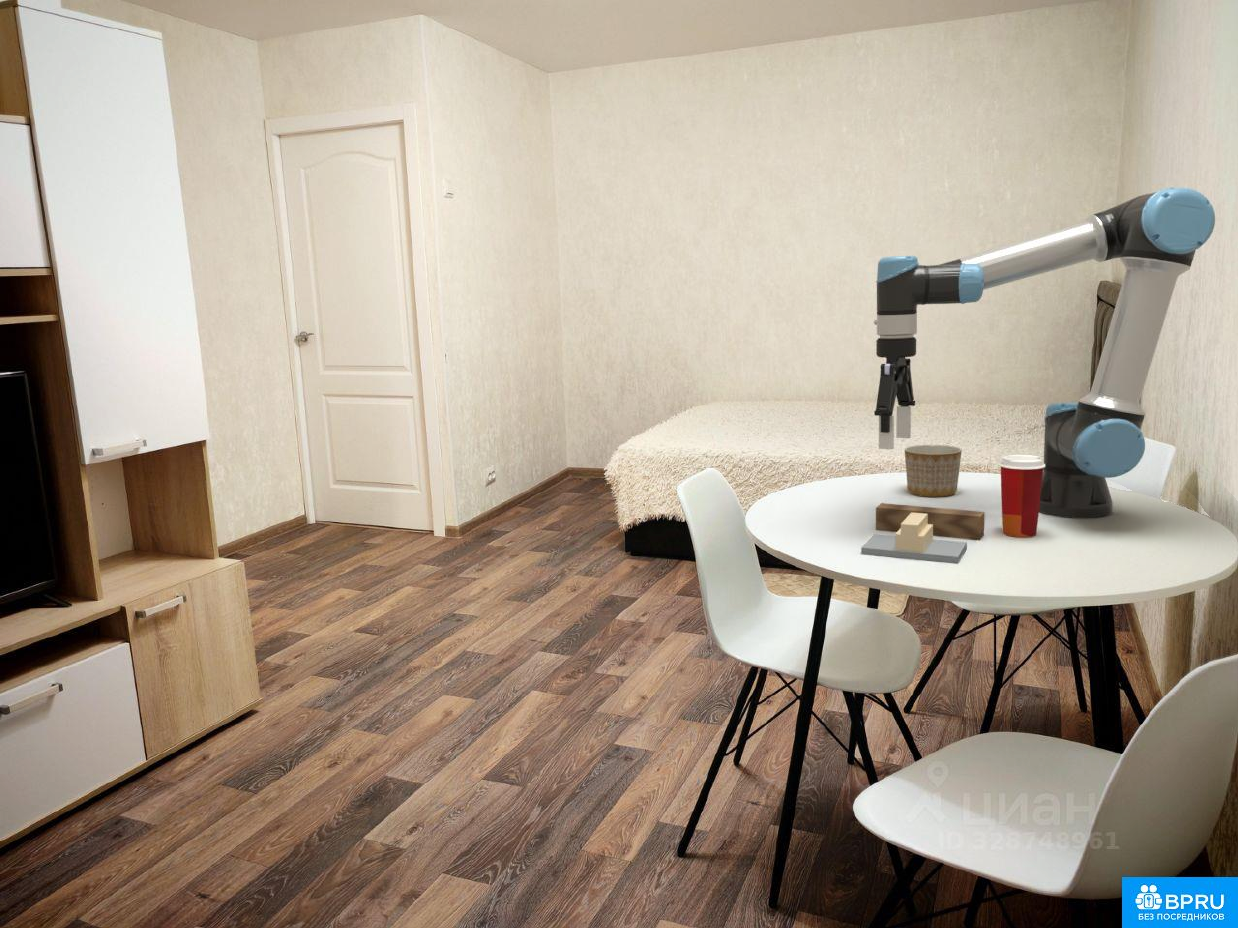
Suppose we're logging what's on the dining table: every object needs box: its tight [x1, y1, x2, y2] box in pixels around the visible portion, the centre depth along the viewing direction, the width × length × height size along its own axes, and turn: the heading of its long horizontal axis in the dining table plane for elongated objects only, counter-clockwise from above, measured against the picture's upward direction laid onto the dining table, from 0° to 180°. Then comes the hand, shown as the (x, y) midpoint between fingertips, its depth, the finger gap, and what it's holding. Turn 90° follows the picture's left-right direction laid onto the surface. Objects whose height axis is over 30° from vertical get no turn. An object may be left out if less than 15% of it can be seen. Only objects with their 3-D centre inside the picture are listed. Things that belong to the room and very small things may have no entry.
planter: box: [904, 444, 963, 498], centre depth 212 cm, size 13×13×10 cm
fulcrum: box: [860, 513, 968, 564], centre depth 167 cm, size 17×10×6 cm, turn 61°
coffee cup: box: [997, 454, 1045, 538], centre depth 174 cm, size 8×8×15 cm
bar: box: [875, 502, 986, 541], centre depth 179 cm, size 20×4×5 cm, turn 58°
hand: (895, 443), depth 181 cm, fingers open, 13 cm apart
